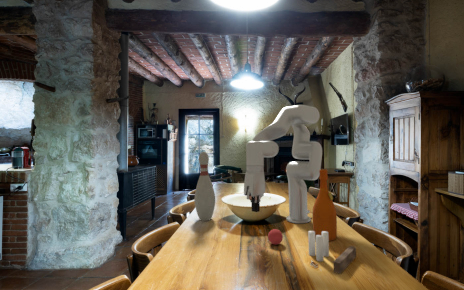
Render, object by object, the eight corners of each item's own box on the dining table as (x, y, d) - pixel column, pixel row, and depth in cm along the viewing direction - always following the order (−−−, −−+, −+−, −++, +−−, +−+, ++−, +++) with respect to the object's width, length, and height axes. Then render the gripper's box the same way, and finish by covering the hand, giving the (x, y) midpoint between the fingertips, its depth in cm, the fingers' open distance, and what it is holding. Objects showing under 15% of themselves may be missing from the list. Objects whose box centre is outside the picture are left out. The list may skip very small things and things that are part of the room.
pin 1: (317, 257, 93) (317, 234, 93) (324, 259, 91) (323, 235, 91) (315, 260, 91) (314, 236, 91) (321, 262, 90) (321, 237, 90)
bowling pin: (214, 222, 138) (213, 151, 138) (193, 222, 138) (191, 152, 138) (216, 216, 149) (214, 151, 149) (196, 216, 149) (194, 151, 149)
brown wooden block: (350, 255, 94) (350, 245, 94) (356, 256, 93) (355, 247, 93) (333, 272, 83) (333, 261, 83) (340, 274, 81) (339, 263, 81)
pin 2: (323, 253, 97) (323, 230, 97) (329, 254, 95) (329, 232, 95) (320, 255, 95) (320, 232, 95) (327, 257, 93) (326, 233, 93)
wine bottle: (321, 243, 106) (320, 170, 106) (308, 235, 115) (307, 168, 115) (342, 240, 109) (340, 169, 108) (327, 232, 118) (326, 167, 118)
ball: (273, 240, 111) (273, 226, 111) (285, 243, 107) (285, 229, 107) (265, 244, 106) (265, 230, 106) (277, 248, 102) (277, 233, 102)
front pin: (310, 252, 98) (310, 230, 97) (316, 254, 96) (316, 231, 96) (307, 254, 96) (307, 231, 96) (313, 256, 94) (313, 233, 94)
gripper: (258, 167, 121) (258, 207, 121) (237, 170, 110) (237, 213, 110) (271, 168, 116) (272, 209, 116) (251, 171, 105) (251, 216, 104)
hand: (255, 211), depth 113 cm, fingers closed
